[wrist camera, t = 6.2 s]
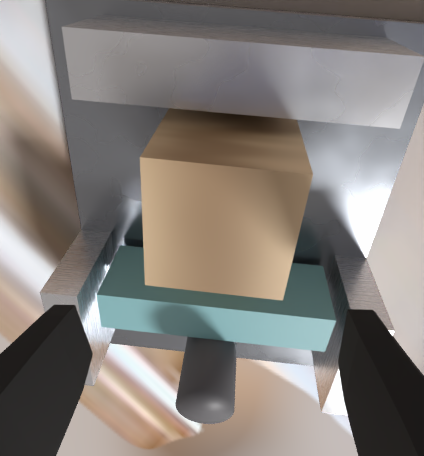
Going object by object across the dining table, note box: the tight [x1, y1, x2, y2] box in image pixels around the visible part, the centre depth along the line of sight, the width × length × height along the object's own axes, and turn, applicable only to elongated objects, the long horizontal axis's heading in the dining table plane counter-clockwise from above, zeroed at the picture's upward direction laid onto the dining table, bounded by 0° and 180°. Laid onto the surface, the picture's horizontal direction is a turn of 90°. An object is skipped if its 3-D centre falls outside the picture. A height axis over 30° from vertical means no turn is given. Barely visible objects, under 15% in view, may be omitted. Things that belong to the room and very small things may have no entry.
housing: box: [140, 108, 313, 301], centre depth 14 cm, size 4×4×6 cm
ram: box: [96, 245, 336, 424], centre depth 18 cm, size 10×4×6 cm, turn 87°
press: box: [40, 0, 424, 416], centre depth 17 cm, size 14×18×5 cm
